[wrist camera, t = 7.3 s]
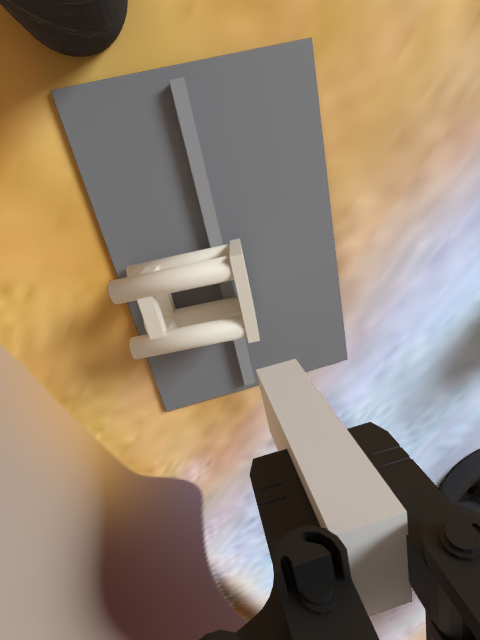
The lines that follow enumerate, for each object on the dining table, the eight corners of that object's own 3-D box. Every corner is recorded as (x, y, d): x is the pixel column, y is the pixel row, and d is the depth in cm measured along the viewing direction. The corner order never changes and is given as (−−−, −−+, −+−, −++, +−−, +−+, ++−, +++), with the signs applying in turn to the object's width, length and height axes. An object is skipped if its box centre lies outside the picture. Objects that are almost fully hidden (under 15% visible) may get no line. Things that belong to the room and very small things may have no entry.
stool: (260, 340, 24) (134, 365, 24) (254, 309, 29) (152, 330, 30) (242, 254, 21) (104, 283, 22) (239, 238, 27) (129, 261, 27)
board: (345, 357, 34) (352, 364, 33) (166, 409, 33) (166, 418, 31) (309, 39, 25) (317, 31, 23) (52, 91, 23) (45, 86, 22)
